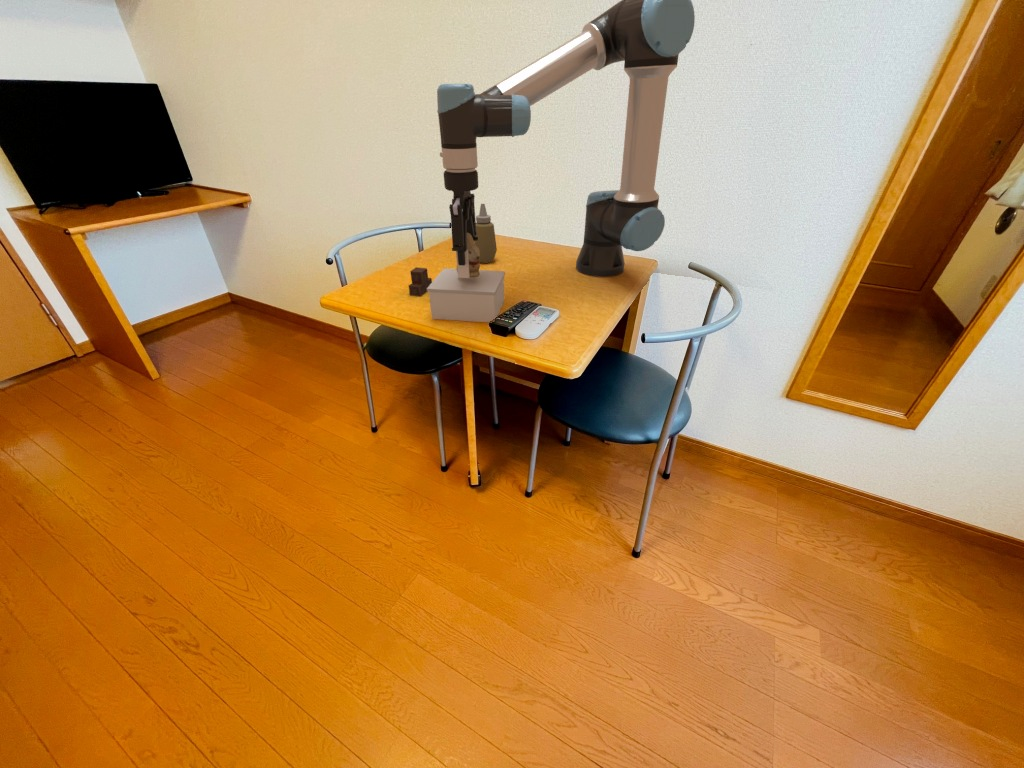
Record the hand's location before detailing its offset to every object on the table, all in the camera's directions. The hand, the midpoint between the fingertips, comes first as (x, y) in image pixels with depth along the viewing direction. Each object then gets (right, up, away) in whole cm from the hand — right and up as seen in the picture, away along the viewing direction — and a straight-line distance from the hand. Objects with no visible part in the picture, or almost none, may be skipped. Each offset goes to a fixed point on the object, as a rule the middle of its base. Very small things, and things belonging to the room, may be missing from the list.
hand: (467, 272), depth 107 cm
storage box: (0, -8, +6) cm, 10 cm away
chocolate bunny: (0, 0, 0) cm, 1 cm away
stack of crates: (-13, -2, +16) cm, 21 cm away
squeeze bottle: (+2, +13, +38) cm, 41 cm away
